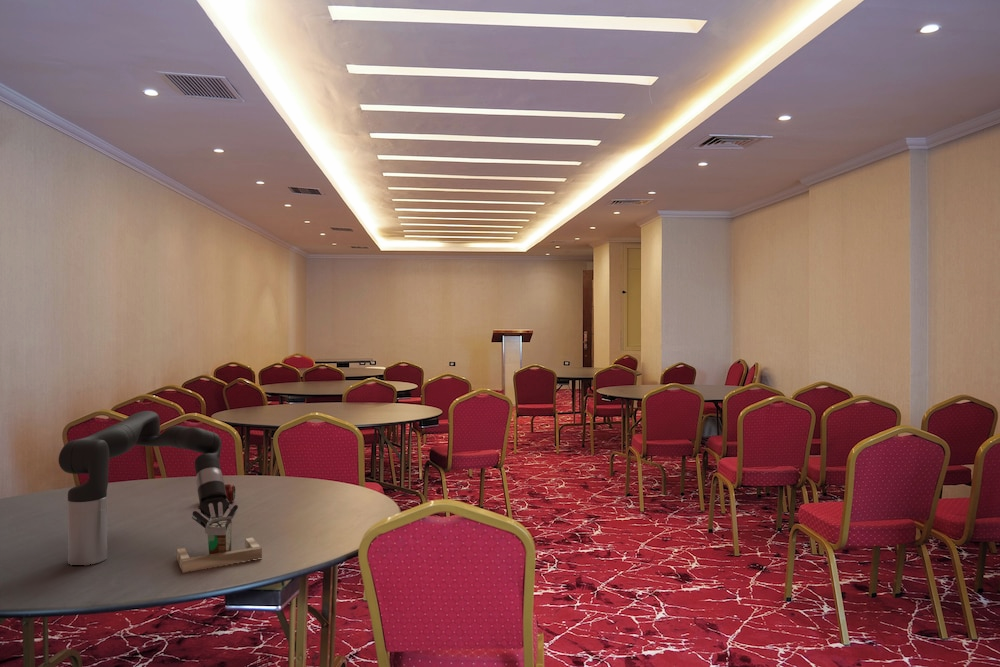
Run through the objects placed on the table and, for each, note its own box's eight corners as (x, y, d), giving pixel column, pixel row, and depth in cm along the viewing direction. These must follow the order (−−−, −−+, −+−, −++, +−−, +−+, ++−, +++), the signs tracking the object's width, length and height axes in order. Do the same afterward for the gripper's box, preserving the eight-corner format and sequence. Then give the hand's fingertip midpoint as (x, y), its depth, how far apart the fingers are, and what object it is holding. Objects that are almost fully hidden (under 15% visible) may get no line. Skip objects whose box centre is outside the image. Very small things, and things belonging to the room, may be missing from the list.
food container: (209, 552, 197) (208, 517, 197) (232, 550, 198) (231, 515, 198) (201, 566, 185) (200, 529, 185) (225, 564, 186) (225, 527, 186)
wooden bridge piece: (177, 559, 190) (176, 548, 190) (252, 547, 201) (252, 537, 201) (182, 572, 180) (182, 561, 180) (261, 559, 190) (261, 548, 190)
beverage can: (234, 504, 251) (234, 486, 251) (198, 506, 248) (198, 488, 248) (237, 499, 258) (237, 482, 258) (202, 501, 255) (202, 483, 255)
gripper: (232, 490, 211) (242, 541, 201) (185, 496, 204) (193, 550, 194) (236, 476, 206) (246, 528, 197) (188, 482, 199) (196, 536, 189)
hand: (219, 539), depth 195 cm, fingers closed
